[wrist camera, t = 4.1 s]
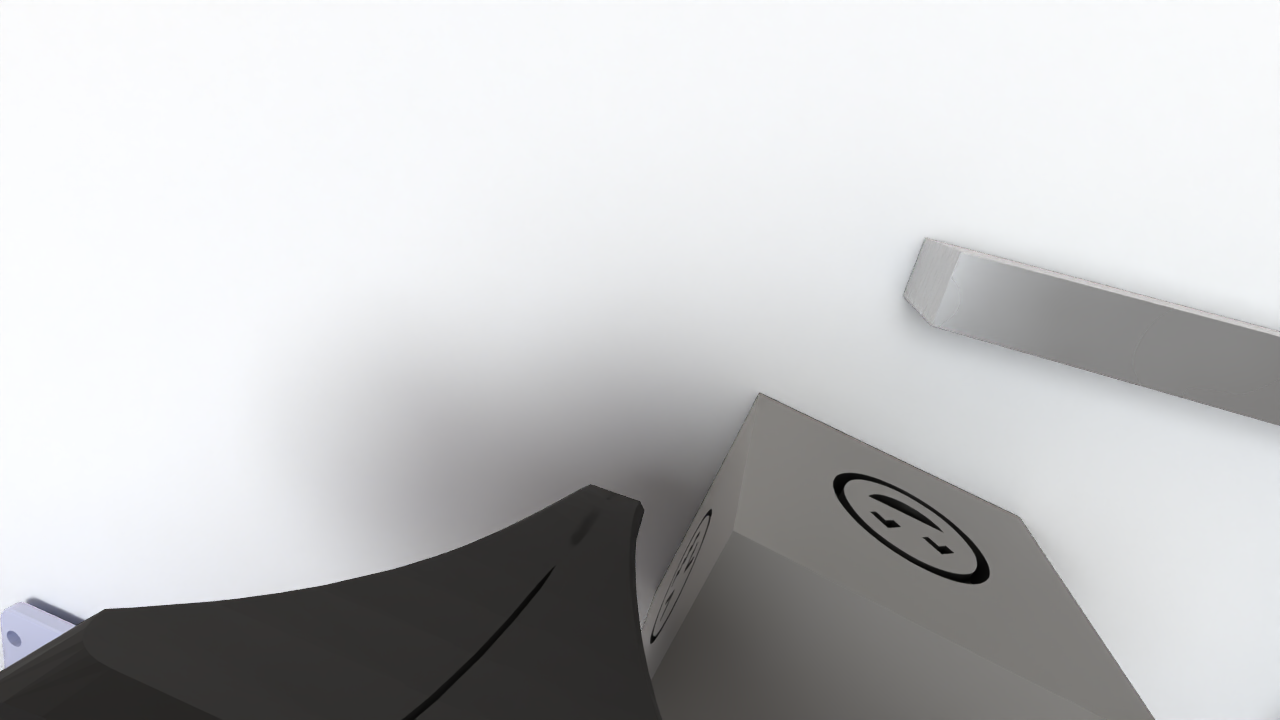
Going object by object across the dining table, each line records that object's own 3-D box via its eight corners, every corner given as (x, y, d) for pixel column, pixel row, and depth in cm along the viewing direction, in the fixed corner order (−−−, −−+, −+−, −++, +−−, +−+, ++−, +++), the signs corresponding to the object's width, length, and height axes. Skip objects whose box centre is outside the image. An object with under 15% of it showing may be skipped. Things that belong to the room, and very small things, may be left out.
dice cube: (876, 711, 13) (922, 1014, 8) (654, 594, 13) (576, 815, 9) (1019, 517, 11) (1180, 756, 6) (759, 393, 12) (733, 531, 7)
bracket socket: (1247, 986, 12) (1383, 1231, 10) (720, 767, 14) (699, 917, 11) (1716, 446, 9) (2175, 577, 6) (925, 237, 10) (973, 257, 7)
